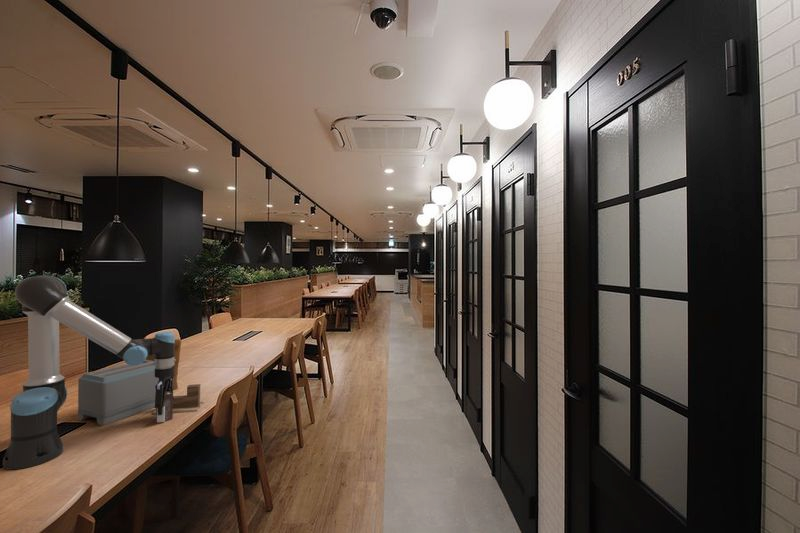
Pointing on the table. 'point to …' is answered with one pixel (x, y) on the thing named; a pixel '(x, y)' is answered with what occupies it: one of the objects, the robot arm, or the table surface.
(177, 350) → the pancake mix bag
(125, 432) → the table surface
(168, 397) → the box
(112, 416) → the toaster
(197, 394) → the wooden u-shaped block
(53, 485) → the table surface
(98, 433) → the table surface
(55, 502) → the table surface
